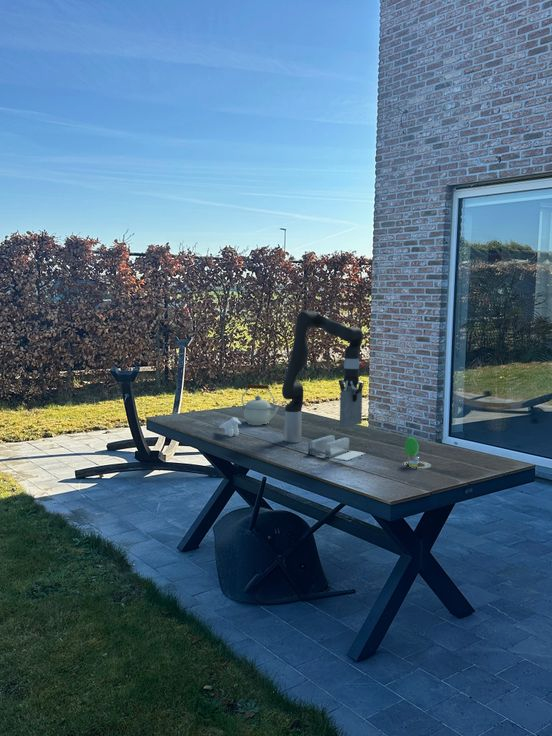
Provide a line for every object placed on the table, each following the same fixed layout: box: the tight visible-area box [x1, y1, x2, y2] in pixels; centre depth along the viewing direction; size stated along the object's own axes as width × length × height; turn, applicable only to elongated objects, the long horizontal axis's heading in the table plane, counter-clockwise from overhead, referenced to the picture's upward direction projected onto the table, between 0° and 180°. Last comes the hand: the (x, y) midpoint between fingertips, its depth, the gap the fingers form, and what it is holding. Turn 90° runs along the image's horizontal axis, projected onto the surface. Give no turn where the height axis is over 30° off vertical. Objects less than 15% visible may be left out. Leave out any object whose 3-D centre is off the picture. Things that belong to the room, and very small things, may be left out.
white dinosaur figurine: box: [218, 416, 242, 438], centre depth 367 cm, size 7×24×11 cm, turn 39°
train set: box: [403, 436, 432, 469], centre depth 303 cm, size 15×14×14 cm
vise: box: [307, 434, 350, 459], centre depth 326 cm, size 14×19×7 cm
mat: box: [333, 450, 367, 462], centre depth 319 cm, size 8×18×1 cm, turn 142°
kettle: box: [241, 384, 280, 426], centre depth 401 cm, size 25×18×25 cm
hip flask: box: [339, 386, 363, 428], centre depth 316 cm, size 16×4×20 cm, turn 136°
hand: (350, 400), depth 316 cm, fingers closed on hip flask, 4 cm apart
